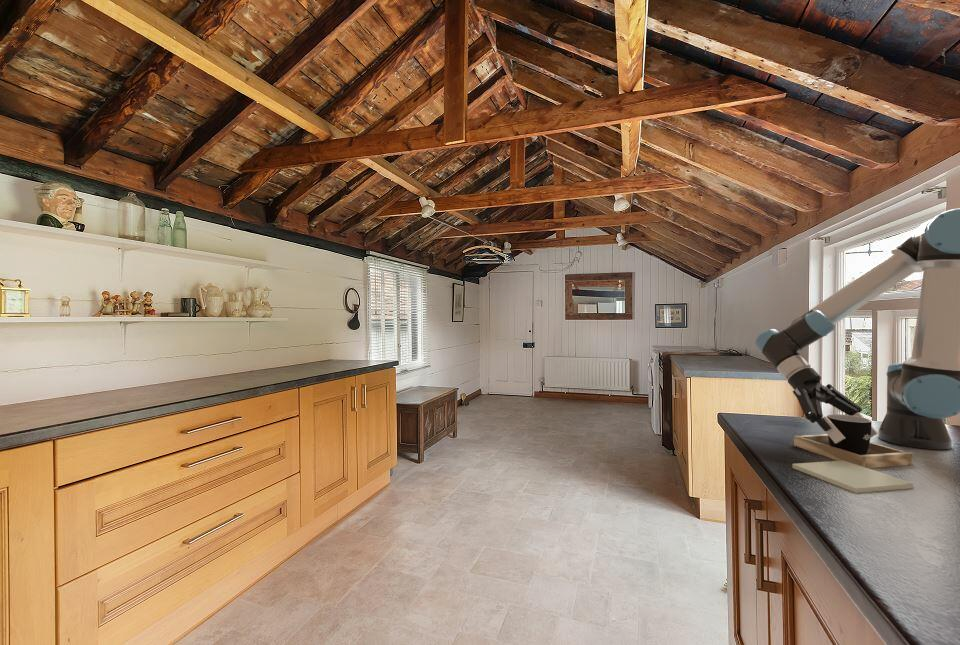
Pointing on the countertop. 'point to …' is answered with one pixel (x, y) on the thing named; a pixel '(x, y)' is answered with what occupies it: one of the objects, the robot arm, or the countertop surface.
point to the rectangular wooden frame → (877, 458)
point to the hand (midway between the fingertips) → (857, 438)
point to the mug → (852, 433)
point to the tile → (852, 476)
